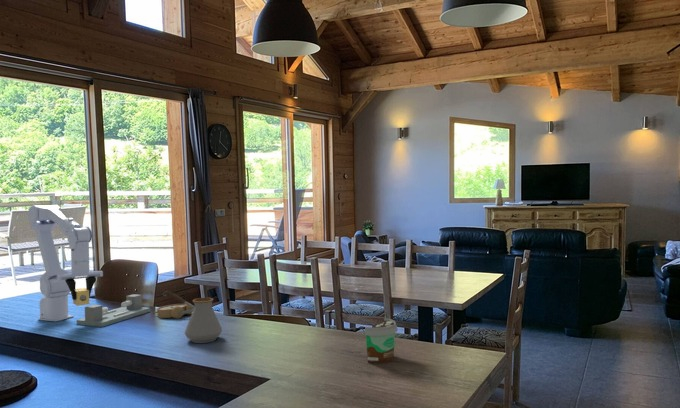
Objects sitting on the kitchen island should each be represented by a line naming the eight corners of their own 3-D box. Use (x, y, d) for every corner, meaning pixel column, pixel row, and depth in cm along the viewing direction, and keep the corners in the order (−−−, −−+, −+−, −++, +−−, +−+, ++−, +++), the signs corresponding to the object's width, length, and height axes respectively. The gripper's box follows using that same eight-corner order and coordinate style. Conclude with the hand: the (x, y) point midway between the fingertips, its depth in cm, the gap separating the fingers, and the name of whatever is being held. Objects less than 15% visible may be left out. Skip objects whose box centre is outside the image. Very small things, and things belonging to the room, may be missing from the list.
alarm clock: (171, 303, 200) (199, 300, 194) (172, 316, 200) (201, 312, 194) (149, 309, 190) (179, 306, 184) (151, 322, 190) (181, 319, 184)
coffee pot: (229, 336, 162) (228, 290, 162) (206, 346, 152) (206, 297, 151) (177, 330, 171) (176, 286, 170) (152, 339, 160) (151, 293, 160)
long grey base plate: (76, 324, 180) (76, 306, 180) (126, 309, 203) (125, 293, 203) (102, 326, 176) (102, 308, 176) (149, 311, 199) (149, 295, 199)
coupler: (77, 306, 176) (77, 291, 176) (72, 302, 181) (72, 289, 181) (89, 304, 178) (89, 290, 178) (84, 301, 184) (84, 287, 184)
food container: (385, 368, 131) (385, 330, 131) (365, 364, 134) (364, 327, 134) (405, 355, 142) (404, 320, 141) (385, 351, 145) (385, 317, 145)
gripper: (59, 264, 172) (60, 303, 172) (104, 260, 181) (105, 297, 181) (55, 262, 177) (56, 300, 177) (99, 258, 186) (100, 294, 187)
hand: (81, 298), depth 180 cm, fingers closed on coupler, 4 cm apart
